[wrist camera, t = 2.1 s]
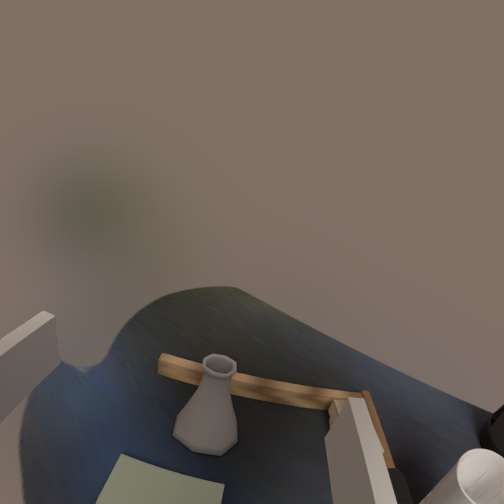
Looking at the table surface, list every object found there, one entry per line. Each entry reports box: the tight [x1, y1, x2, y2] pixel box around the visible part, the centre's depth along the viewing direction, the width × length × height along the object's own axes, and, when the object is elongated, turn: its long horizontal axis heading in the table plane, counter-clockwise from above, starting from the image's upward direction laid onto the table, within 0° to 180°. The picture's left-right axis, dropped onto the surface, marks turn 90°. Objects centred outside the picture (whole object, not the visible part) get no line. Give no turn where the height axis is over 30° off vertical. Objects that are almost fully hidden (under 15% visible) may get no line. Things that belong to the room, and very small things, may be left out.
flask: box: [172, 354, 238, 456], centre depth 27 cm, size 7×7×10 cm
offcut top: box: [328, 399, 384, 454], centre depth 28 cm, size 4×9×2 cm, turn 1°
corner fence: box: [158, 353, 395, 468], centre depth 28 cm, size 28×16×3 cm, turn 86°
